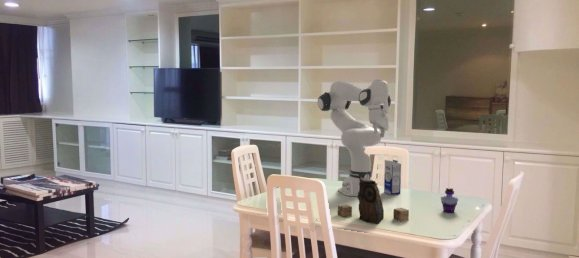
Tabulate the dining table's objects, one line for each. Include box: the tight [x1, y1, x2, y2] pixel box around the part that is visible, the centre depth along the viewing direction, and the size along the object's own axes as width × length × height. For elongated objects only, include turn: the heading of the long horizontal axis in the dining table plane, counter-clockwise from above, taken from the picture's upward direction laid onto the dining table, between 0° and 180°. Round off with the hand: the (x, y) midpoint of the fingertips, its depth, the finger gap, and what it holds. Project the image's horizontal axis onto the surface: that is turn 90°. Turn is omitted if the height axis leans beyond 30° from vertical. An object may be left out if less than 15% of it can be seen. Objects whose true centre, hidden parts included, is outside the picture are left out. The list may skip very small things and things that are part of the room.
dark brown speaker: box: [357, 177, 385, 225], centre depth 218 cm, size 13×13×20 cm
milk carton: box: [383, 159, 402, 196], centre depth 271 cm, size 7×7×20 cm
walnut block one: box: [337, 203, 353, 219], centre depth 225 cm, size 5×5×5 cm
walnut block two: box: [392, 207, 410, 222], centre depth 219 cm, size 5×5×5 cm
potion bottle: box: [440, 187, 459, 214], centre depth 233 cm, size 9×9×12 cm
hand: (378, 135), depth 237 cm, fingers open, 8 cm apart
